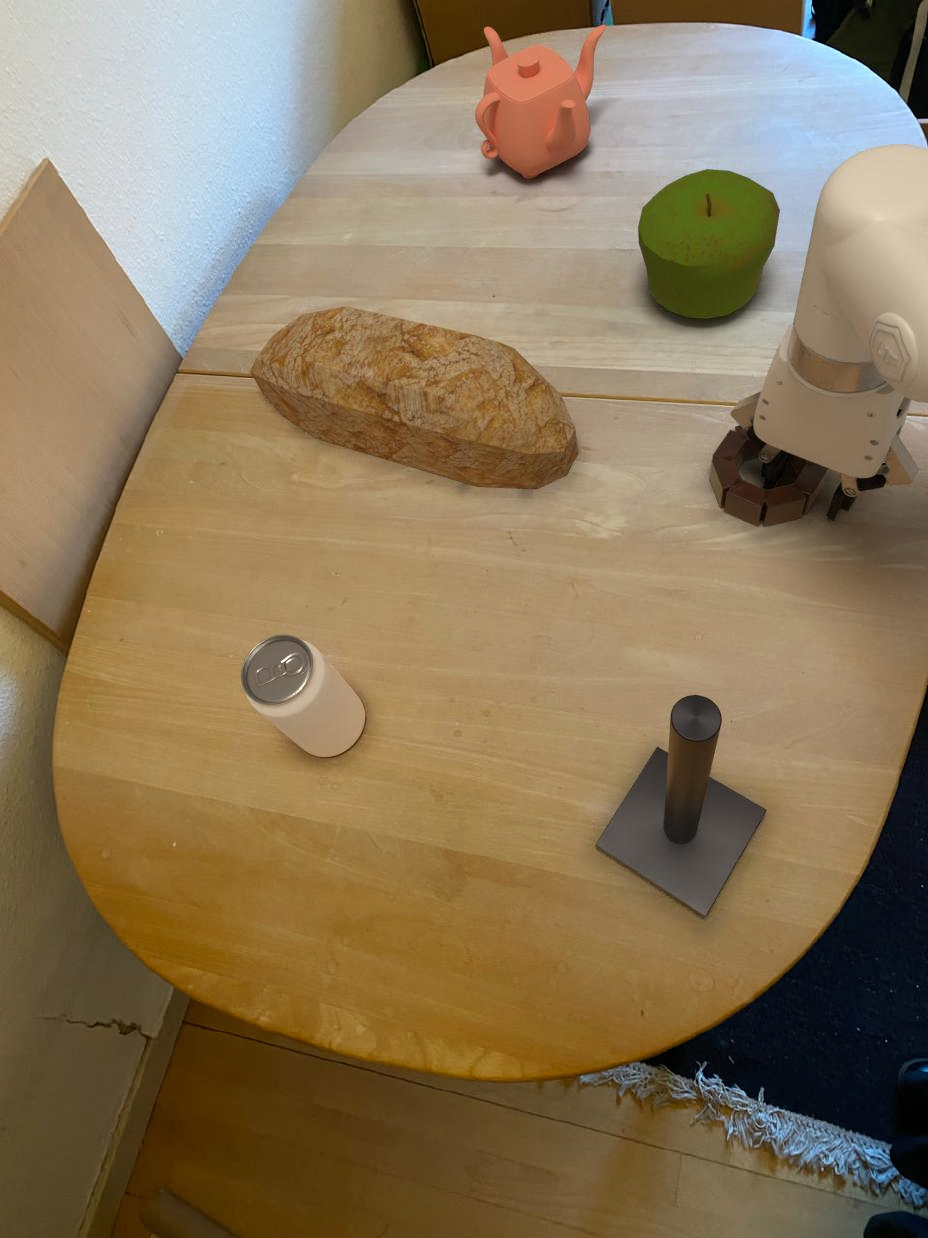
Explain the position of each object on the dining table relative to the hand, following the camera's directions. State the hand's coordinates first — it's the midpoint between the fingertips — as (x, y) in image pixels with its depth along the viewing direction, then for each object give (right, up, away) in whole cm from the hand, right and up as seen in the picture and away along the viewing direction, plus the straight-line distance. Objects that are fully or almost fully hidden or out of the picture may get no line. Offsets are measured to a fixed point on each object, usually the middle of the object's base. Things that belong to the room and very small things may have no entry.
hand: (805, 493), depth 72 cm
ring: (-3, +1, +2) cm, 4 cm away
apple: (-5, +22, +13) cm, 27 cm away
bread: (-35, +10, +14) cm, 39 cm away
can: (-41, -20, 0) cm, 46 cm away
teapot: (-19, +46, +28) cm, 57 cm away
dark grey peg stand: (-13, -27, -10) cm, 31 cm away
